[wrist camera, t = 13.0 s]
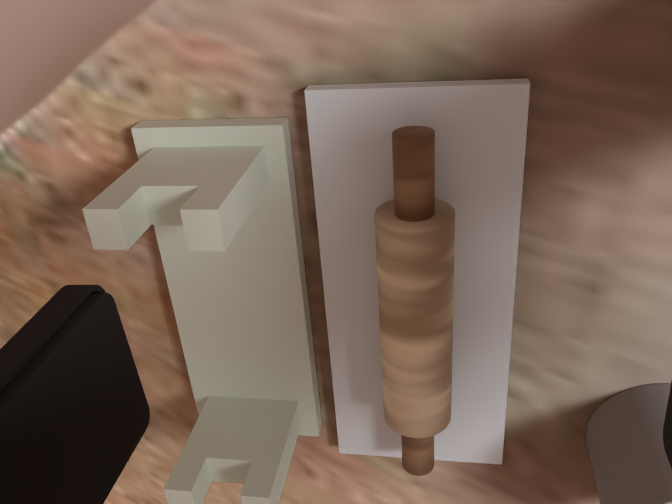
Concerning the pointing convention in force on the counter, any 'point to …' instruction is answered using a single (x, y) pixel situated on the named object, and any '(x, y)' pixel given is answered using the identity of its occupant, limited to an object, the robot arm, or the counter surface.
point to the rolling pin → (416, 299)
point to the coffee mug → (631, 447)
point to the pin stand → (226, 291)
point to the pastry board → (469, 254)
